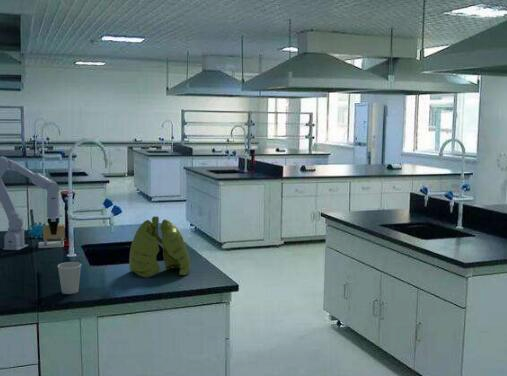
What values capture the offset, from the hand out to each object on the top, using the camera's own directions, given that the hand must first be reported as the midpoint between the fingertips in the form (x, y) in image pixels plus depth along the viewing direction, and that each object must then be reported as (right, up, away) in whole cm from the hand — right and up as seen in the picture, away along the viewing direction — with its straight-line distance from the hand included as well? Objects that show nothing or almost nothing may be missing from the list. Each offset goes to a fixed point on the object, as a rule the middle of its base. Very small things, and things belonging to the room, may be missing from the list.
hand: (53, 233), depth 273 cm
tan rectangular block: (0, -2, 0) cm, 2 cm away
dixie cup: (+31, -16, -71) cm, 79 cm away
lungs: (+60, -13, -44) cm, 75 cm away
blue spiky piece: (-14, -4, +17) cm, 23 cm away
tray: (0, -6, +1) cm, 6 cm away
